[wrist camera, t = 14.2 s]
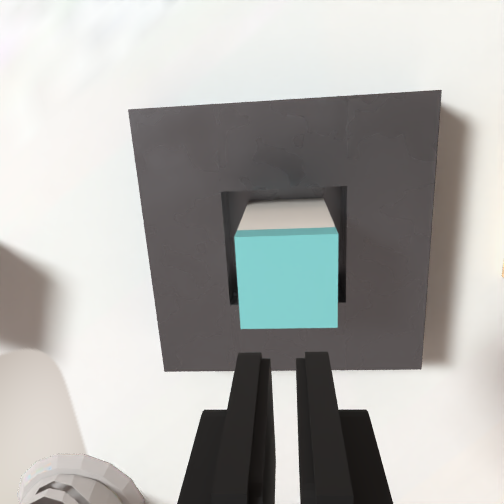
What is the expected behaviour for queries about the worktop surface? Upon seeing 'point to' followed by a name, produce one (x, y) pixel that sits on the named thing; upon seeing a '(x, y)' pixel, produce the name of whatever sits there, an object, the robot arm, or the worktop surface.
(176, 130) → the port panel
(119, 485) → the french press
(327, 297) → the plug
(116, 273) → the worktop surface
